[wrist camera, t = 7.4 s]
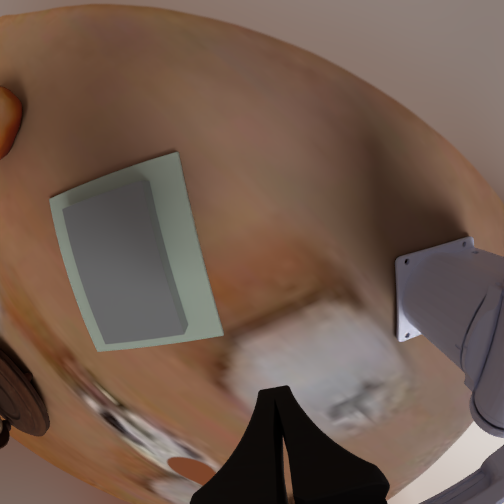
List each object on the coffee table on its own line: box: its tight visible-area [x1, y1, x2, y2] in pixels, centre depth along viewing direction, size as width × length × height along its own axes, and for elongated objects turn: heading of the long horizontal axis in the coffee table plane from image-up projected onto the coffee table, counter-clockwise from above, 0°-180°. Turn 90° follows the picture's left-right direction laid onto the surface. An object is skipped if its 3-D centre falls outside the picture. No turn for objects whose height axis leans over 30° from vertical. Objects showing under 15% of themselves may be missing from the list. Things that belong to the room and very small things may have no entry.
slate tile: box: [62, 180, 188, 344], centre depth 19 cm, size 2×11×7 cm
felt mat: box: [49, 152, 224, 352], centre depth 20 cm, size 12×14×1 cm
